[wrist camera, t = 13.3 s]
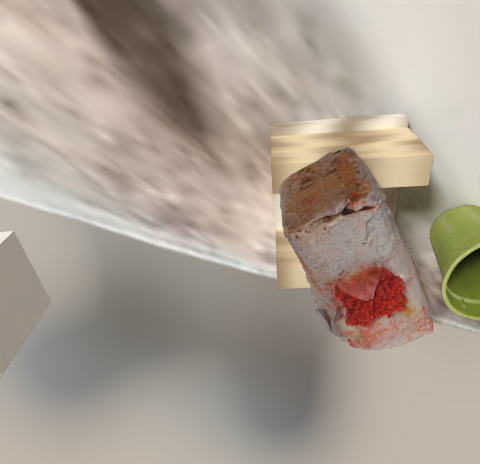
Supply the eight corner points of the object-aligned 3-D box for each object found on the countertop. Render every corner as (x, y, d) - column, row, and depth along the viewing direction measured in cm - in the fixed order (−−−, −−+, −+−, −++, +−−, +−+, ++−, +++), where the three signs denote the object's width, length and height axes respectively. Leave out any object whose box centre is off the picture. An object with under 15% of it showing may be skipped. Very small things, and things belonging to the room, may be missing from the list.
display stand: (403, 113, 35) (435, 145, 28) (386, 242, 43) (408, 290, 36) (270, 123, 36) (270, 155, 30) (276, 246, 44) (278, 294, 37)
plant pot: (395, 248, 43) (421, 303, 36) (448, 176, 38) (490, 222, 31) (467, 274, 44) (507, 332, 37) (528, 207, 39) (587, 258, 32)
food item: (416, 266, 34) (463, 357, 26) (332, 298, 37) (350, 389, 29) (356, 135, 28) (393, 199, 20) (261, 184, 31) (258, 258, 23)
